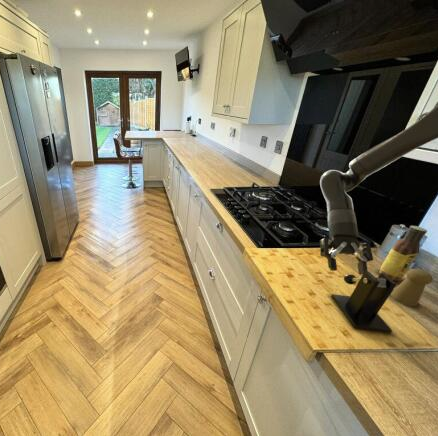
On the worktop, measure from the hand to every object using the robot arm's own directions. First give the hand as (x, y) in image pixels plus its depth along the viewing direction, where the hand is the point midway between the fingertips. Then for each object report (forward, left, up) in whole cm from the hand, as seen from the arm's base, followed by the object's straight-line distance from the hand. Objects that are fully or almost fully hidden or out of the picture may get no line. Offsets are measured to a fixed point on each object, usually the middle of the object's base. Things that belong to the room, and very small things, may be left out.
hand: (348, 272), depth 75 cm
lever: (-1, +7, 0) cm, 7 cm away
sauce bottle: (-21, -16, -8) cm, 27 cm away
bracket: (-2, +10, -7) cm, 12 cm away
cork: (-19, -3, -8) cm, 20 cm away
